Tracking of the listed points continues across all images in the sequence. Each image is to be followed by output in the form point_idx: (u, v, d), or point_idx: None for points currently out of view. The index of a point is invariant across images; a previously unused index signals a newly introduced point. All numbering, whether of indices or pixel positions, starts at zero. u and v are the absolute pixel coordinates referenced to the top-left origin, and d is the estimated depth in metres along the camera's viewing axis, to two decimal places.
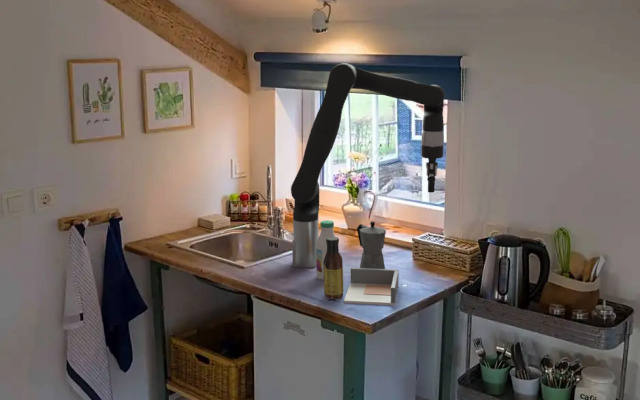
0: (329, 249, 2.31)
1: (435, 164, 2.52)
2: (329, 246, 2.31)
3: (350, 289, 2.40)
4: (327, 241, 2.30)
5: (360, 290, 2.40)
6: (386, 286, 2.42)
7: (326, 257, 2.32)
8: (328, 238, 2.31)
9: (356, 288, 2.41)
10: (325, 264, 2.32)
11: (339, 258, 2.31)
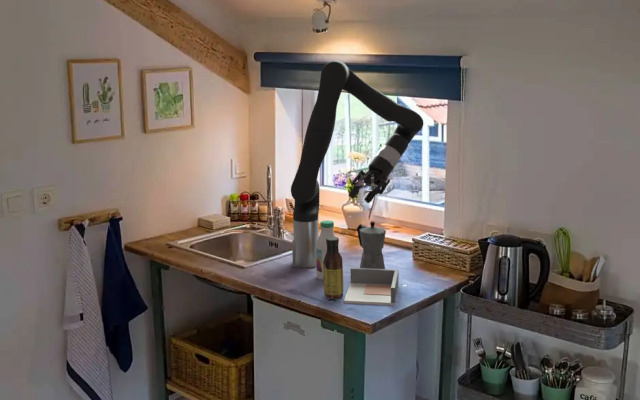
0: (329, 249, 2.31)
1: None
2: (329, 246, 2.30)
3: (350, 289, 2.40)
4: (327, 241, 2.30)
5: (360, 290, 2.40)
6: (386, 286, 2.42)
7: (326, 257, 2.32)
8: (328, 238, 2.31)
9: (356, 288, 2.41)
10: (325, 264, 2.32)
11: (339, 258, 2.31)
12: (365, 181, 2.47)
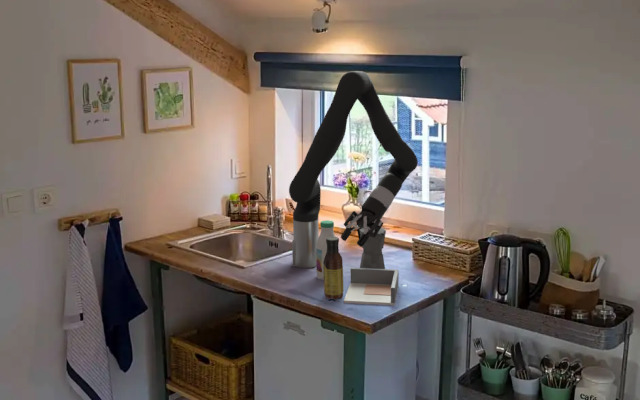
0: (329, 249, 2.31)
1: None
2: (329, 246, 2.30)
3: (350, 289, 2.40)
4: (327, 241, 2.30)
5: (360, 290, 2.40)
6: (386, 286, 2.42)
7: (326, 257, 2.32)
8: (328, 238, 2.31)
9: (356, 288, 2.41)
10: (325, 264, 2.32)
11: (339, 258, 2.31)
12: (358, 223, 2.38)
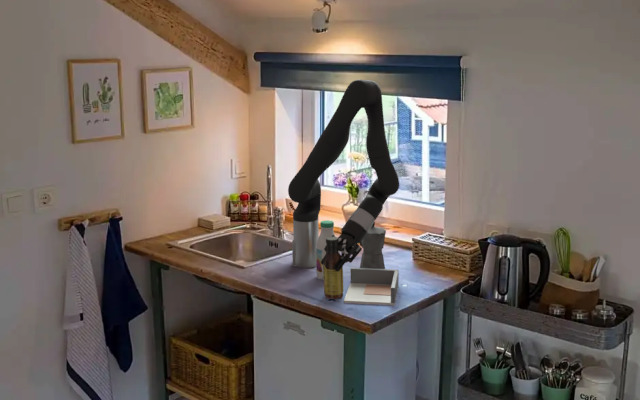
0: (329, 249, 2.31)
1: None
2: (329, 246, 2.31)
3: (350, 289, 2.40)
4: (327, 241, 2.31)
5: (360, 290, 2.40)
6: (386, 286, 2.42)
7: (326, 256, 2.32)
8: (328, 238, 2.31)
9: (356, 288, 2.41)
10: (325, 264, 2.32)
11: (339, 258, 2.31)
12: (338, 246, 2.35)
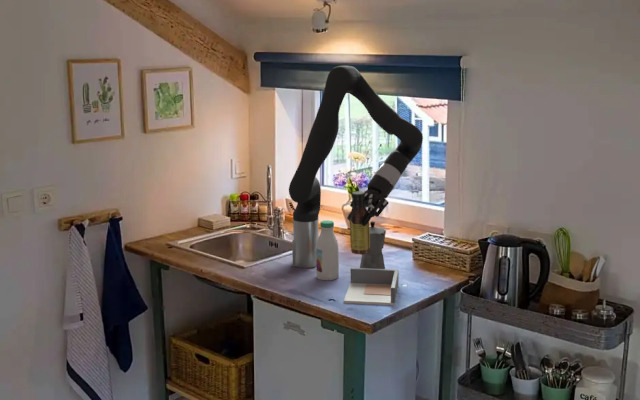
0: (355, 203, 2.29)
1: None
2: (355, 200, 2.29)
3: (350, 289, 2.40)
4: (353, 195, 2.29)
5: (360, 290, 2.40)
6: (386, 286, 2.42)
7: (353, 211, 2.30)
8: (354, 192, 2.30)
9: (356, 288, 2.41)
10: (351, 219, 2.31)
11: (365, 212, 2.30)
12: (364, 202, 2.33)
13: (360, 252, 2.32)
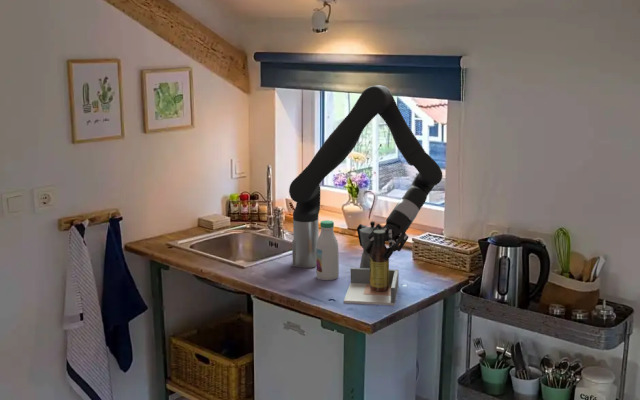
0: (376, 242, 2.34)
1: None
2: (376, 239, 2.34)
3: (350, 289, 2.40)
4: (374, 234, 2.34)
5: (360, 290, 2.40)
6: None
7: (373, 249, 2.35)
8: (375, 231, 2.35)
9: (356, 288, 2.41)
10: (372, 257, 2.35)
11: None
12: None
13: (379, 289, 2.37)
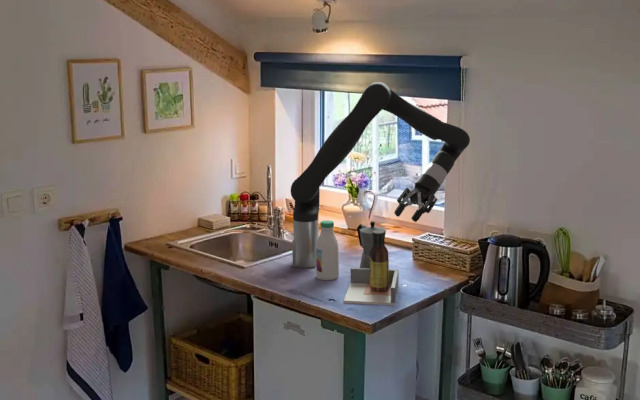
0: (375, 242, 2.34)
1: None
2: (375, 239, 2.34)
3: (350, 289, 2.40)
4: (373, 234, 2.34)
5: (360, 290, 2.40)
6: None
7: (373, 249, 2.35)
8: (374, 231, 2.35)
9: (356, 288, 2.41)
10: (371, 257, 2.35)
11: (385, 251, 2.35)
12: (411, 199, 2.44)
13: (379, 289, 2.37)
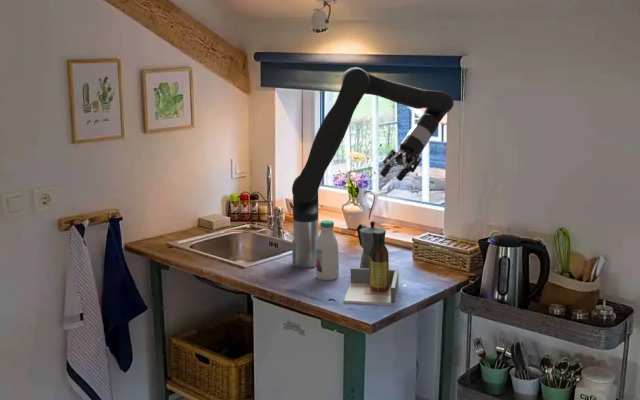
0: (375, 242, 2.34)
1: None
2: (375, 239, 2.34)
3: (350, 289, 2.40)
4: (374, 234, 2.34)
5: (360, 290, 2.40)
6: None
7: (373, 249, 2.35)
8: (374, 231, 2.35)
9: (356, 288, 2.41)
10: (371, 257, 2.35)
11: (385, 251, 2.35)
12: (396, 160, 2.52)
13: (379, 289, 2.37)
